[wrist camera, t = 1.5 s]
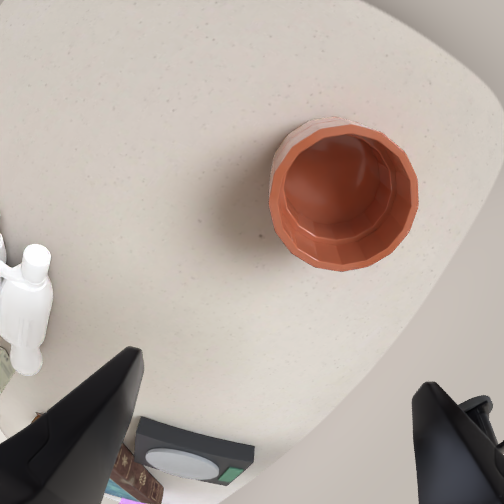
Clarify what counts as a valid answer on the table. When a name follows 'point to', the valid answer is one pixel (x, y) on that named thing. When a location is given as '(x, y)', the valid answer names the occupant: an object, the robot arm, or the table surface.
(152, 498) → the book
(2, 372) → the box
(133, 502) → the toy chair
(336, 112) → the table surface
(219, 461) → the scale
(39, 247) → the binoculars
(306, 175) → the pot
